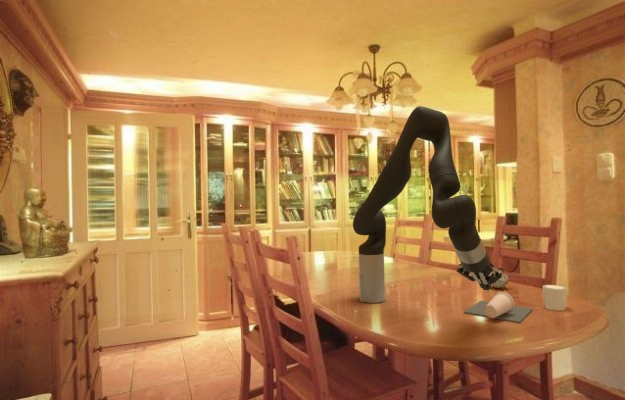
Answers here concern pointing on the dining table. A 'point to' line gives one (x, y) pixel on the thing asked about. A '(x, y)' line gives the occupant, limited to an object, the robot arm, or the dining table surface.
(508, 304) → the smoothie
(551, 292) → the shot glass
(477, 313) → the mat
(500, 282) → the game die
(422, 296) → the dining table surface
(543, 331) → the dining table surface
